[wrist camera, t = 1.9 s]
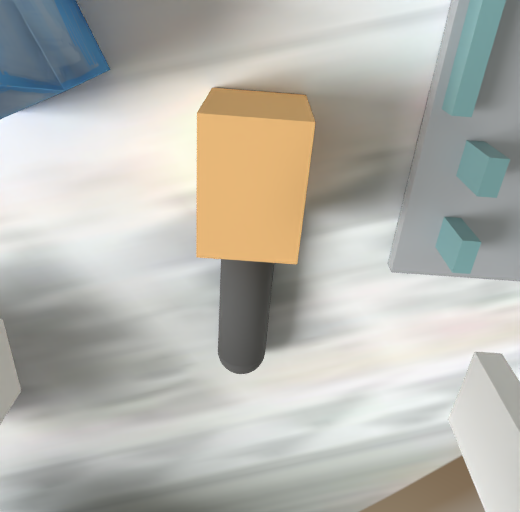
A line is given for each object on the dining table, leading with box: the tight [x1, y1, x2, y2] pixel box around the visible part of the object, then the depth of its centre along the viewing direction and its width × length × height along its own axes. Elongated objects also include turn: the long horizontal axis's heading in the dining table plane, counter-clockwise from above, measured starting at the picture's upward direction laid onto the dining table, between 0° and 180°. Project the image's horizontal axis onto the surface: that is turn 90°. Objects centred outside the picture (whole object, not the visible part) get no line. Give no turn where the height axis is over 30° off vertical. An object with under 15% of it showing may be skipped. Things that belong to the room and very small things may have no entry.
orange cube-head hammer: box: [197, 88, 316, 374], centre depth 27 cm, size 18×5×6 cm, turn 176°
